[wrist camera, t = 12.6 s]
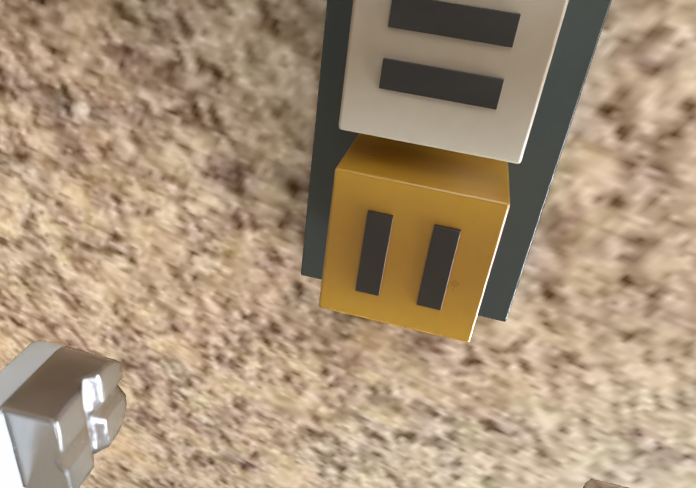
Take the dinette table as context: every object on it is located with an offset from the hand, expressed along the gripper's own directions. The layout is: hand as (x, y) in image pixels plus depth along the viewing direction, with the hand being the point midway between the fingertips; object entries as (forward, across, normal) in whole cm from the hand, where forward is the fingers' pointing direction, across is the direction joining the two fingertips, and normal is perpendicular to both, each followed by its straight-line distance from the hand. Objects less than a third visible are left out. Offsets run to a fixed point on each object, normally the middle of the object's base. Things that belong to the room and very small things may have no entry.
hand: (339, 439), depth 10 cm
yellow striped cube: (+11, 0, 0) cm, 11 cm away
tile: (+11, 0, -5) cm, 13 cm away
